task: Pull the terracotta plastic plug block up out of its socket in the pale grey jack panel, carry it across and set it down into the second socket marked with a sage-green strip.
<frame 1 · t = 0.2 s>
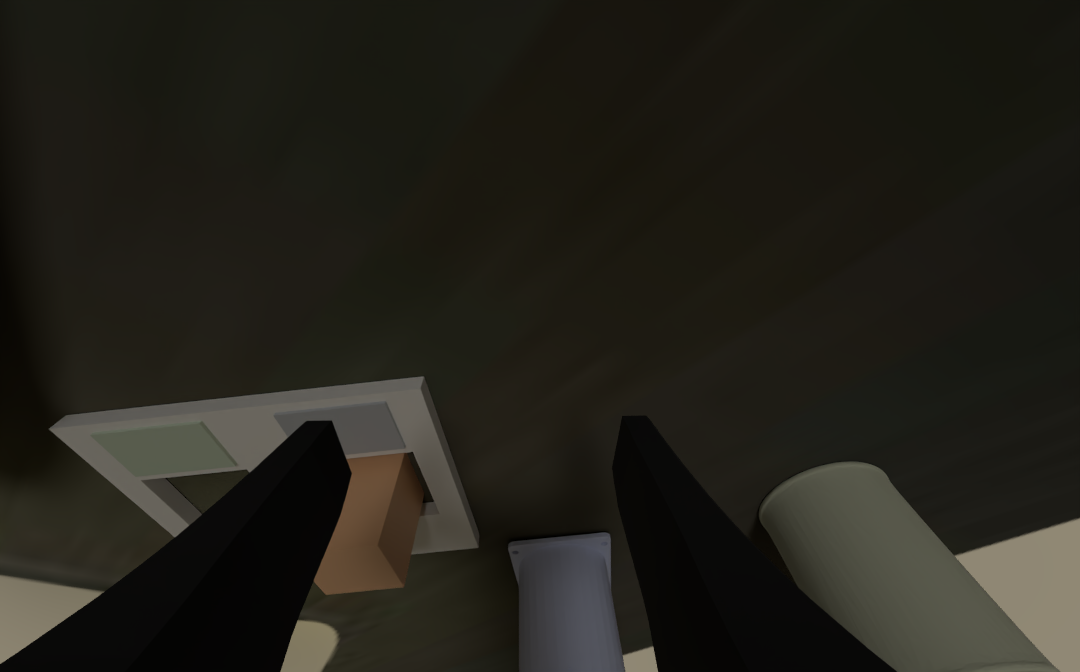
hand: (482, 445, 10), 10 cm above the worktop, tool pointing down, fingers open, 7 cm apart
can: (818, 497, 30), on the worktop
plug: (381, 476, 26), resting in jack panel
jack panel: (306, 484, 26), on the worktop
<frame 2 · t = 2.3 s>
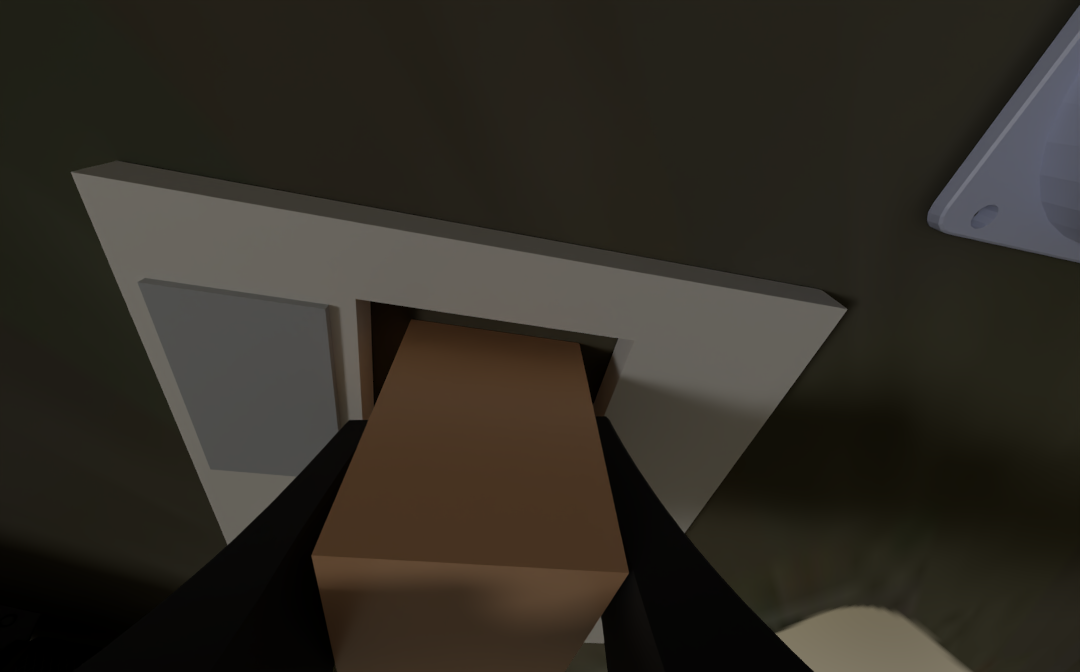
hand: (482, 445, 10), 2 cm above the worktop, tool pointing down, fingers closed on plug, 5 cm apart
plug: (487, 393, 12), resting in jack panel, touching gripper
jack panel: (469, 495, 15), on the worktop
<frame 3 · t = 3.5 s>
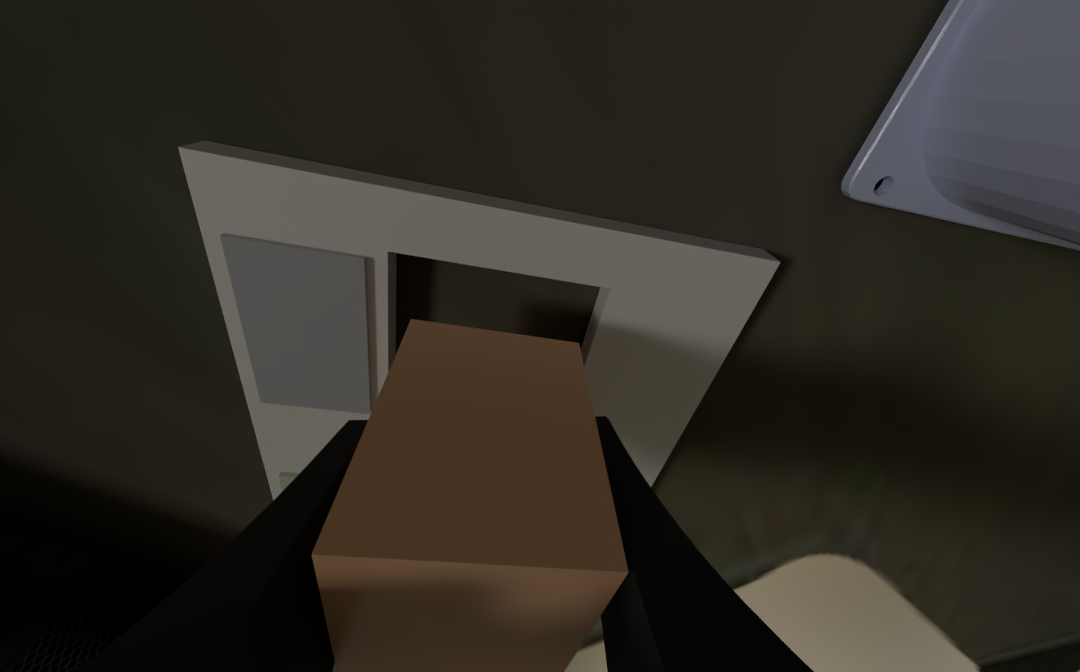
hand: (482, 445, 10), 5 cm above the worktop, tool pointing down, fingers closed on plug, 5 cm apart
plug: (487, 393, 12), point 3 cm above the worktop, touching gripper
jack panel: (474, 437, 17), on the worktop
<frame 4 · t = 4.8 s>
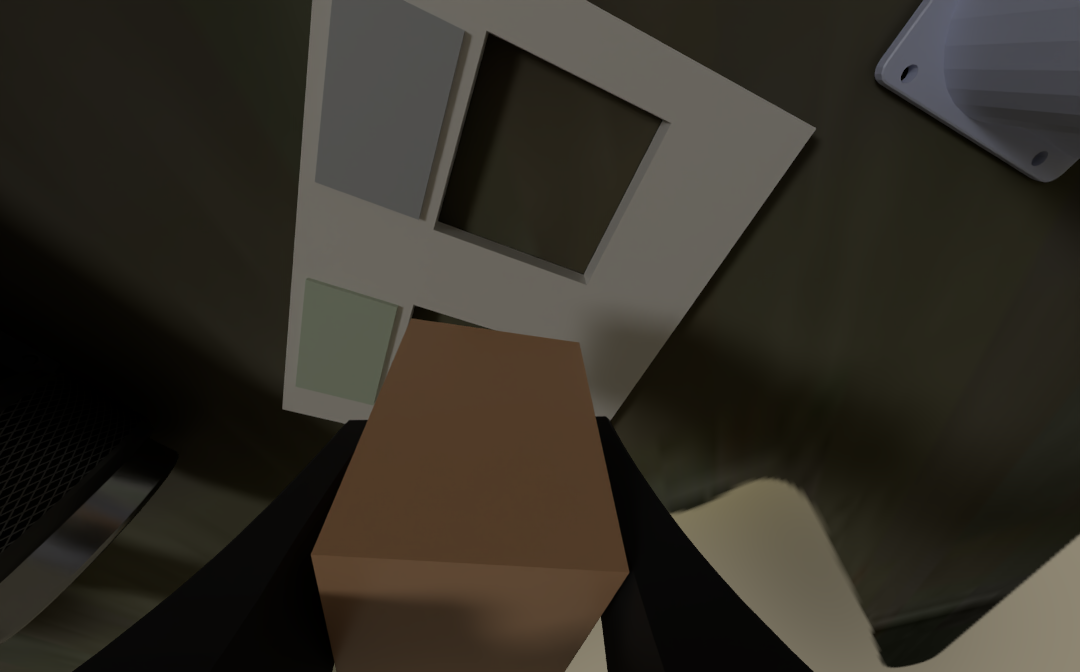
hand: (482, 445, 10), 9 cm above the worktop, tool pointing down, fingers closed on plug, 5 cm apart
plug: (487, 393, 12), point 7 cm above the worktop, touching gripper
jack panel: (500, 284, 18), on the worktop
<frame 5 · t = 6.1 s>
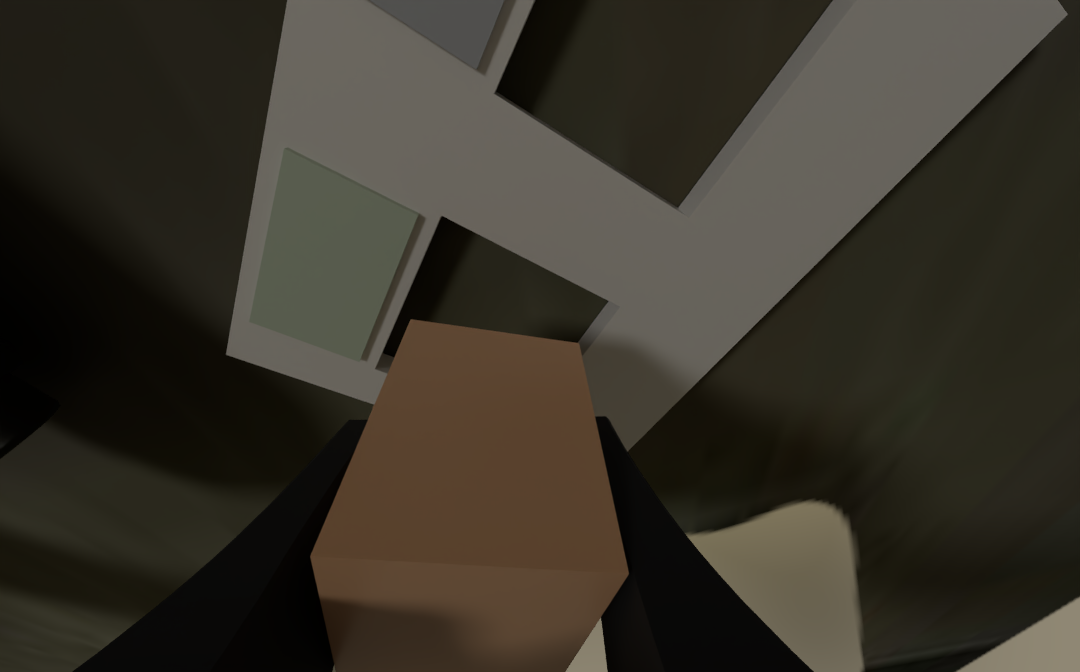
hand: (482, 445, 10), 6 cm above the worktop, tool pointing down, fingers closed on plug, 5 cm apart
plug: (486, 393, 12), point 4 cm above the worktop, touching gripper
jack panel: (563, 206, 13), on the worktop
when the fingers open (2 cm above the worktop, at t = 7.4 s): plug stays where it is, resting in jack panel.
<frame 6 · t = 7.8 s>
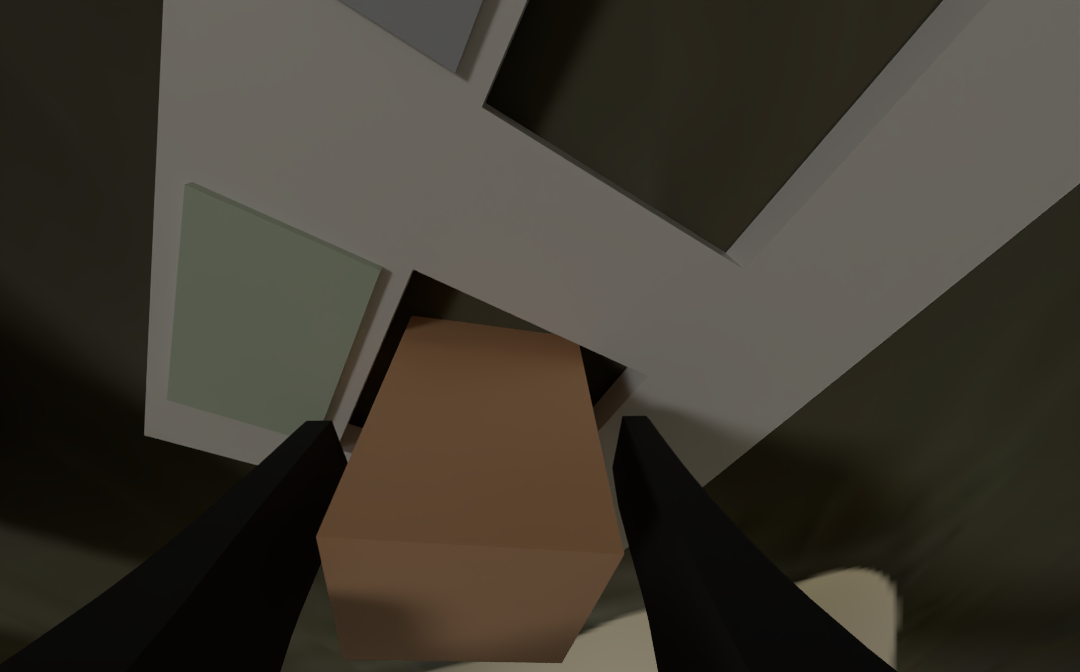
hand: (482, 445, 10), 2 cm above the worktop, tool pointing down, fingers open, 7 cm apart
plug: (487, 388, 12), resting in jack panel
jack panel: (576, 252, 10), on the worktop
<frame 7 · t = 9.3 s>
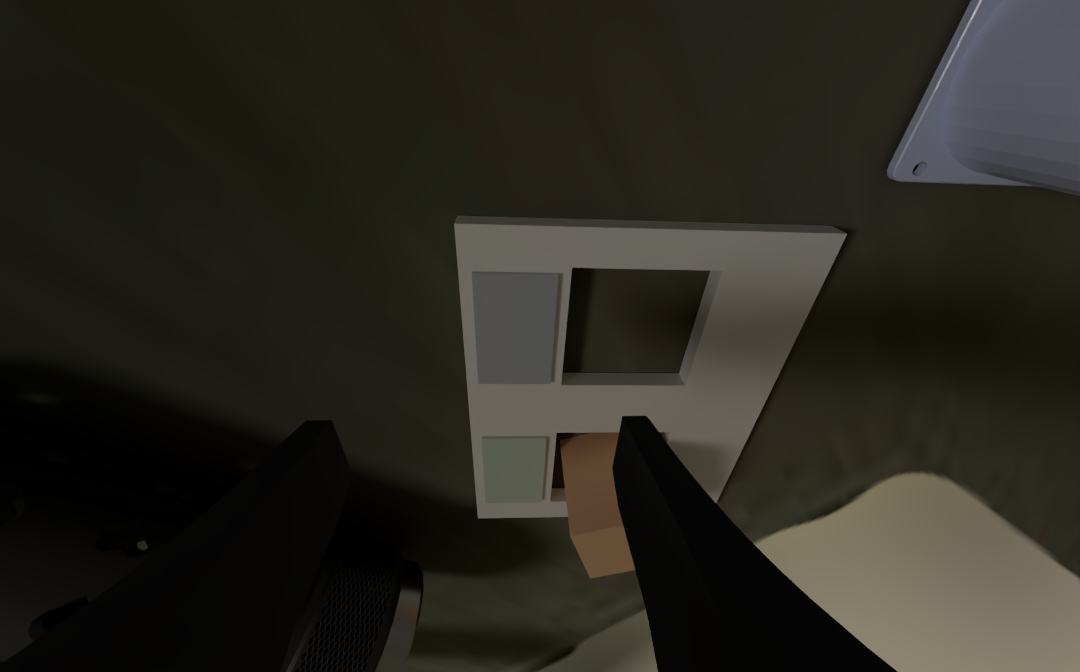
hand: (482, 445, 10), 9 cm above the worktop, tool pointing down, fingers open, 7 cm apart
plug: (603, 454, 25), resting in jack panel
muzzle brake: (212, 485, 26), on the worktop
jack panel: (615, 397, 22), on the worktop
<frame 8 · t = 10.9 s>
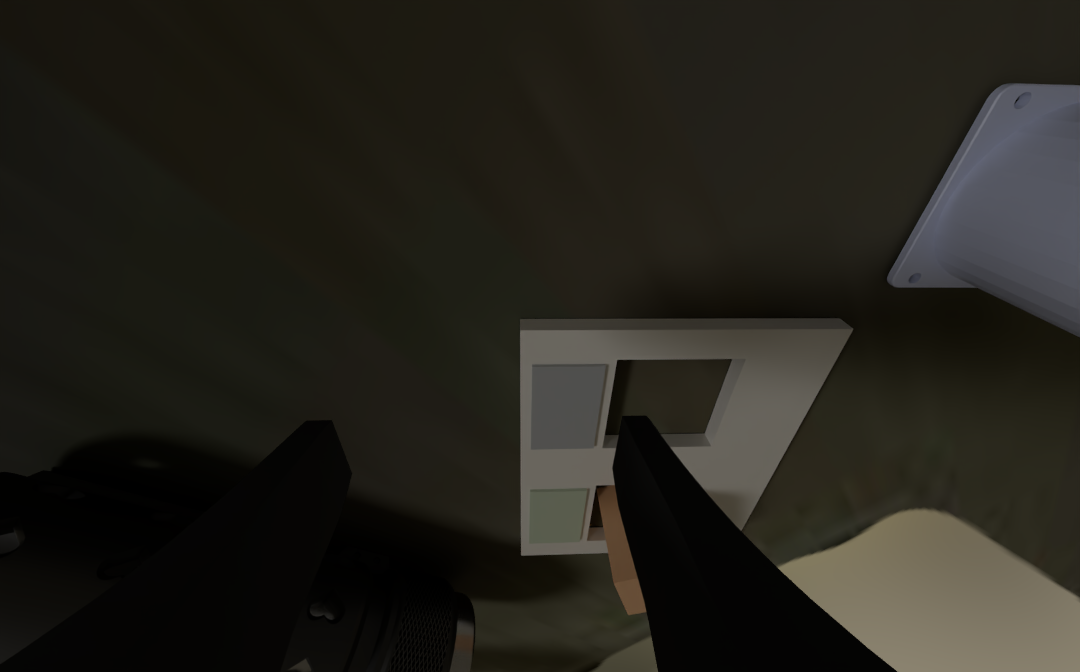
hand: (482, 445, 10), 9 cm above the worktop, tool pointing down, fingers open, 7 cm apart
plug: (634, 499, 28), resting in jack panel
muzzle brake: (284, 529, 29), on the worktop
jack panel: (647, 453, 25), on the worktop
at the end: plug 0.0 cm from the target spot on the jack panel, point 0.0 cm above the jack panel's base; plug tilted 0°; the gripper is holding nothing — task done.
